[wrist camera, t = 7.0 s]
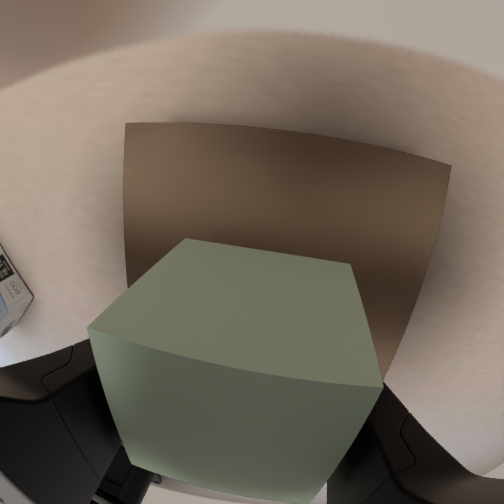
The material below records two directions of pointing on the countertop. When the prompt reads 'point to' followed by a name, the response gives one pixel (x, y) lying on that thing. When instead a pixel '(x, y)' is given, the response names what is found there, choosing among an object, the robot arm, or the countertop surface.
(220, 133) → the walnut slab
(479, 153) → the countertop surface
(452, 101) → the countertop surface
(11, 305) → the light bulb box
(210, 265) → the green cube
